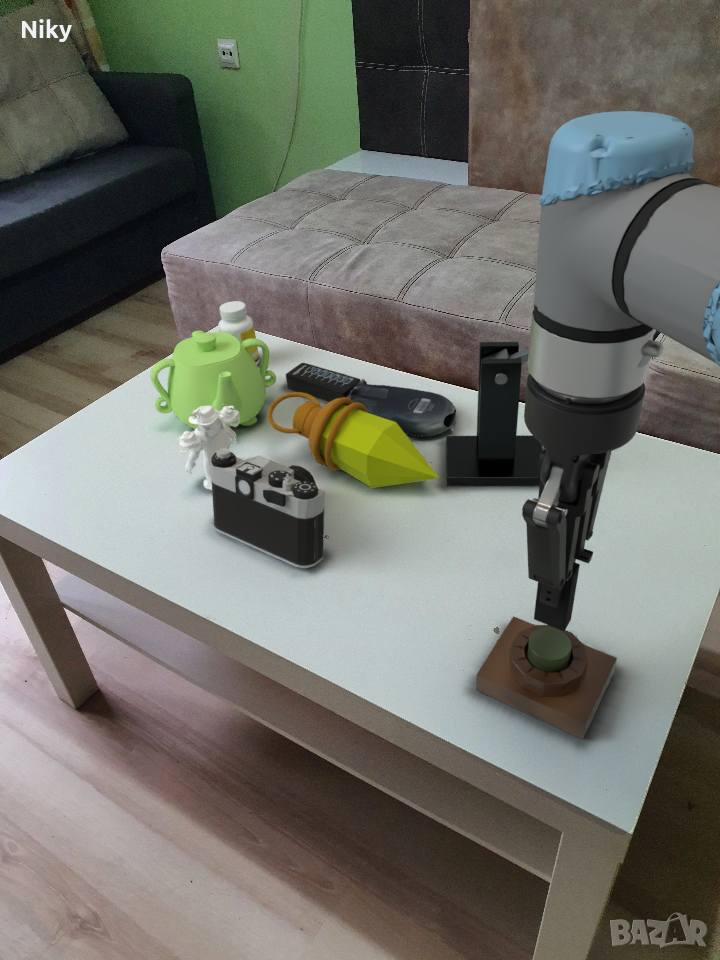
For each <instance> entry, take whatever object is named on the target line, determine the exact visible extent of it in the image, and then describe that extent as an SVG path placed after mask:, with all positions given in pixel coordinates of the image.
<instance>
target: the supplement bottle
mask: <svg viewBox="0 0 720 960" xmlns="http://www.w3.org/2000/svg"><path fill="white" fill-rule="evenodd" d="M247 312H248V310H247V306H246V303H245V302H243V301H239V300H232V301H228V302H225V303H223V304H221V305H220V306H219V314H220V318H221V319H220V320H219V322H218V324H217V325H218V332H225V333H229V334H231V335H233V336H234V337H236V338H237V339H238V340H239V341H240V342H243V341H244V340H247V339H252V338H254V339H257V336H256V330H255V326H254V320H253V319H252V317H251V316H249V314H248V313H247ZM246 350H247V351H248V352H249V354H250V355H251V356H252V358H253V359H254V361H255V362H256V364H257V365H258V364H259V363H260V353H259V348H258V346H252V347H249V348H246Z"/></svg>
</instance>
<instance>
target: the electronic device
mask: <svg viewBox="0 0 720 960" xmlns="http://www.w3.org/2000/svg"><path fill="white" fill-rule="evenodd" d="M360 380H361V381H360V382H359V383H358V385H357V386H356V387H354V389H353V390H351V393H350V395H348V396H347V398H350V399H351V400H352V401H353V402H354V403H355V402H359V403H362V404H363V405H364V406H365V407H366V409H367V412H368V413H370V414H373V415H376V416H379V417H382V418H385V419H388V420H391V421H394V422H396V423H397V424H398V425H399V427H400V428H401V429H402V430H403V432H404V433H405V434H406V435H410V436H413V437H419V438H421V437H433V436H437V435H441V434H442V433H445V432H446V431H448V429H449V430H451V432H453V429H454V425H455V422H456V419H457V408H456V405H454V404H453V402H452V401H451V400H450V399H448V398H447V397H446V396H444V395H442V394H439V393H435V392H433V391H432V392H431V391H428V390H427V391H425V390H420V389H417V388H416V389H415V388H408V387H401V386H393V385H386V384H370V383H368V382H367V380H366V379H365V378H361V379H360ZM358 410H359V409H358Z"/></svg>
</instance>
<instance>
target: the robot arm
mask: <svg viewBox="0 0 720 960" xmlns="http://www.w3.org/2000/svg"><path fill="white" fill-rule="evenodd" d="M694 144H695V135H694V131H693V128H691V127H690V125H688V124H687V123H685V122H682V121H681V119H680V118H678V117H675V116H672V115H669V114H663V113H658V112H651V111H638V110H637V111H634V110H623V111H619V110H618V111H615V110H613V111H603V112H597V113H591V114H587V115H582V116H578V117H576V118H573V119H571V120H569V121H567V122H566V123H564V124H562V125H561V126H560V127H559V128H558V129H557V130H556V131H555V133H554V135H553V136H552V138H551V140H550V143H549V148H548V154H547V160H546V167H545V173H544V179H543V180H544V181H543V185H542V186H543V187H542V194H541V196H540V197H539V201H538V202H539V206H540V218H539V230H538V231H539V232H538V245H537V257H536V269H535V270H536V271H535V282H534V283H535V284H534V298H533V310H532V313H531V324H530V332H529V333H530V335H529V342H528V343H529V344H528V345H529V346H528V348H529V354H528V361H527V364H526V365H527V369H528V373H529V374H528V375H527V377H526V378H527V379H526V387H525V398H524V399H525V400H524V411H523V412H524V413H523V418H524V419H523V420H524V424H525V427H526V428H527V430H528V431H529V433H530V434H531V435H533V436H534V437H535V438H536V439H537V440H538V441H539V442H540V443H541V444H542V452H541V454H540V457H539V463H538V473H539V474H540V486H538V487H539V488H538V495H537V498H536V497H534V498H532V499H529V498H528V499H526V500H525V502H524V503H523V506H522V509H521V510H522V512H521V516H522V518H523V520H524V521H525V524H526V525H525V526H526V546H527V575H528V579H529V580H532V581H535V582H537V586H536V595H535V596H536V597H535V606H534V613H533V620H534V621H537V622H540V623H542V624H543V625H549V626H552V627H554V628H557V629H559V630H562V631H565V630H567V627H568V626H569V624H570V623H571V620H572V616H573V615H572V614H573V609H574V603H575V599H576V598H575V597H576V591H577V586H578V585H577V584H578V579H579V572H580V566H581V565H580V563H577V561H580V562H582V563H586V564H590V562H591V561H592V558H593V555H594V551H592V550H589V549H586V548H585V545H586V541H587V542H588V541H589V540H590V539H591V538H592V537H593V535H594V531H593V530H594V526H595V522H596V518H597V513H598V509H599V505H600V502H601V501H600V500H601V497H602V492H603V488H604V484H605V480H606V476H607V471H608V467H609V463H610V459H611V455H612V451H615V450H618V449H620V448H622V447H623V446H625V445H627V444H628V443H629V442H630V441H632V439H633V438H634V437H635V435H636V434H637V432H638V429H639V424H640V420H641V414H642V411H643V410H642V409H643V406H644V405H643V404H644V399H645V394H646V384H645V381H646V380H647V377H648V374H649V369H650V364H651V359H652V358H659V357H660V356H662V355H663V351H664V349H665V348H664V344H663V342H661V341H658V340H653V339H654V335H655V334H656V332H659V333H660V334H662V335H664V336H666V337H668V338H669V339H671V340H673V341H675V342H676V343H678V344H680V345H682V346H684V347H685V348H687V349H689V350H691V351H693V352H695V353H696V354H698V355H700V356H702V357H704V358H705V359H707V360H709V361H711V362H712V363H714V364H716V365H717V366H719V367H720V186H718V185H716V184H715V183H711V182H709V181H706V180H703V179H700V178H698V177H694V176H692V175H691V174H690V172H691V170H693V169H694V168H693V167H694V164H695V160H694V158H693V150H694ZM576 560H577V561H576Z"/></svg>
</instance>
